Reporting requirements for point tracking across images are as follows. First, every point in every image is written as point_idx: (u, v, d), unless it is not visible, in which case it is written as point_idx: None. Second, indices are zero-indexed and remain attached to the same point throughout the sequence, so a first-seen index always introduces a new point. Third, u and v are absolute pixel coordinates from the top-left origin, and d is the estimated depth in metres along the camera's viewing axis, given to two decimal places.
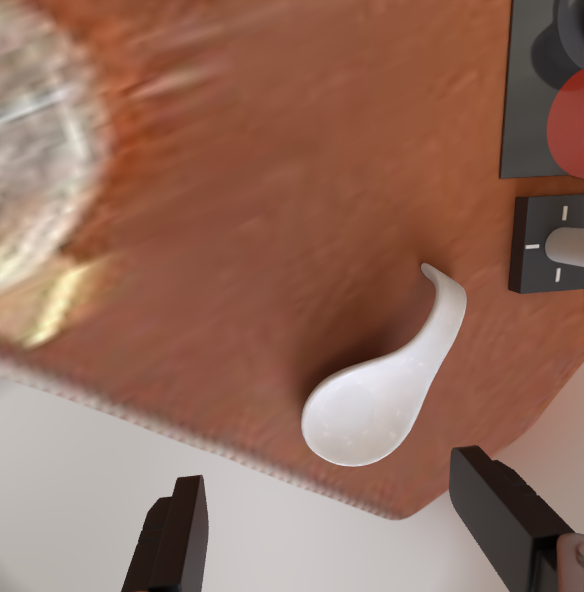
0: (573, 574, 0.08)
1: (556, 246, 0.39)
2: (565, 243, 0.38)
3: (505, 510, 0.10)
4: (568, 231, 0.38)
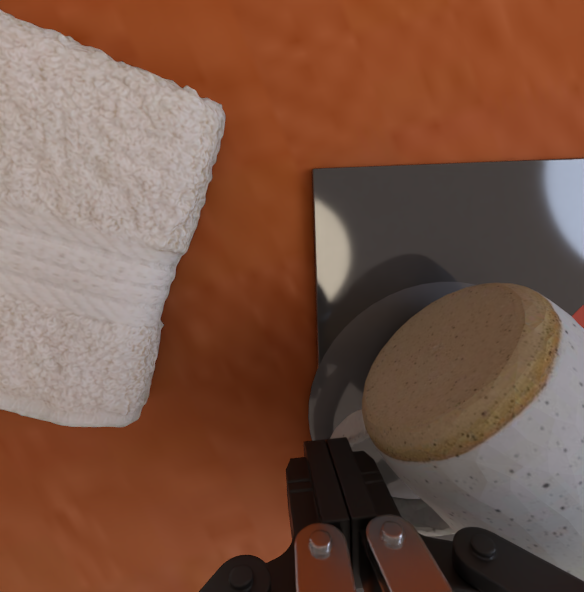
0: (390, 562, 0.08)
1: None
2: None
3: (342, 495, 0.11)
4: None
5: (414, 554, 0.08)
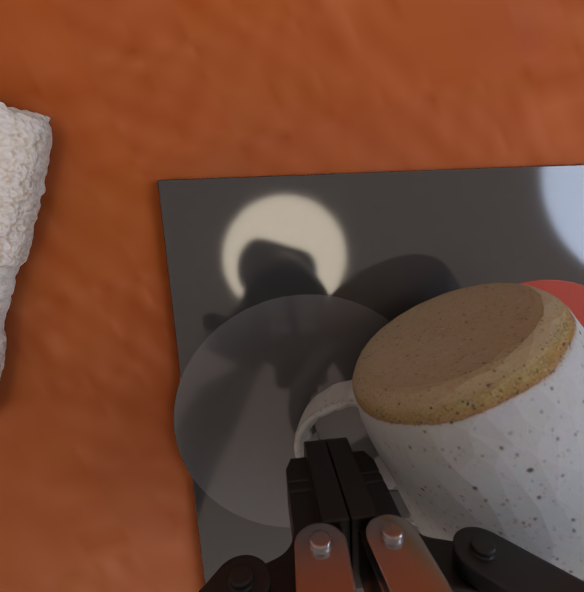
0: (390, 562, 0.08)
1: None
2: None
3: (342, 495, 0.11)
4: None
5: (414, 554, 0.08)
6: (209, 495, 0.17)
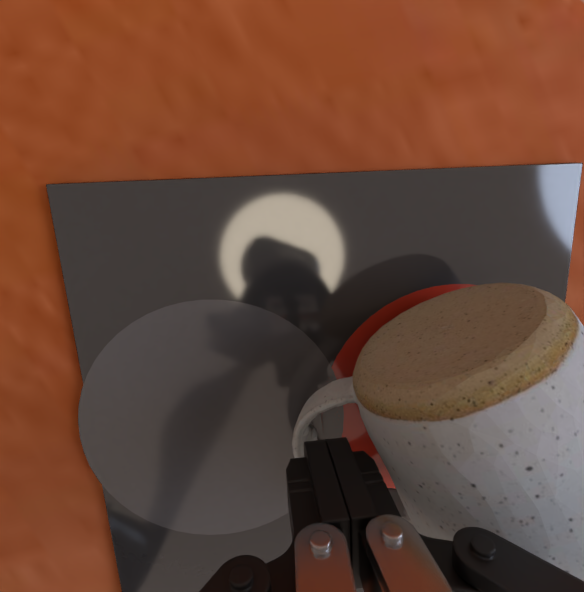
0: (390, 562, 0.08)
1: None
2: None
3: (342, 495, 0.11)
4: None
5: (414, 554, 0.08)
6: (120, 502, 0.17)
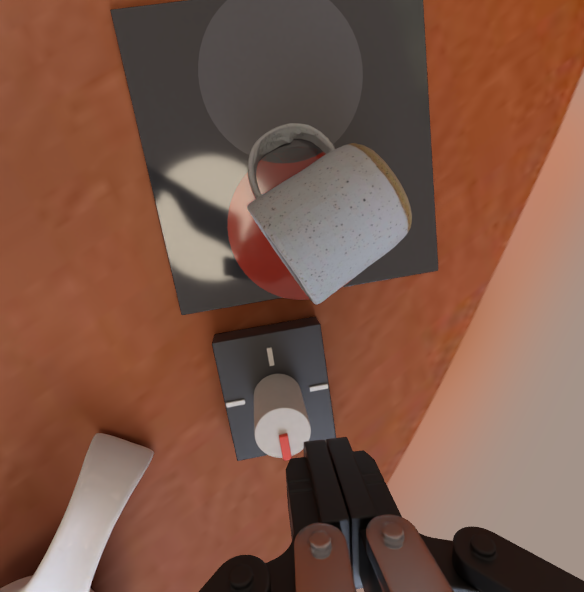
0: (390, 562, 0.08)
1: None
2: (254, 412, 0.27)
3: (342, 495, 0.11)
4: (262, 392, 0.27)
5: (414, 554, 0.08)
6: (220, 8, 0.25)
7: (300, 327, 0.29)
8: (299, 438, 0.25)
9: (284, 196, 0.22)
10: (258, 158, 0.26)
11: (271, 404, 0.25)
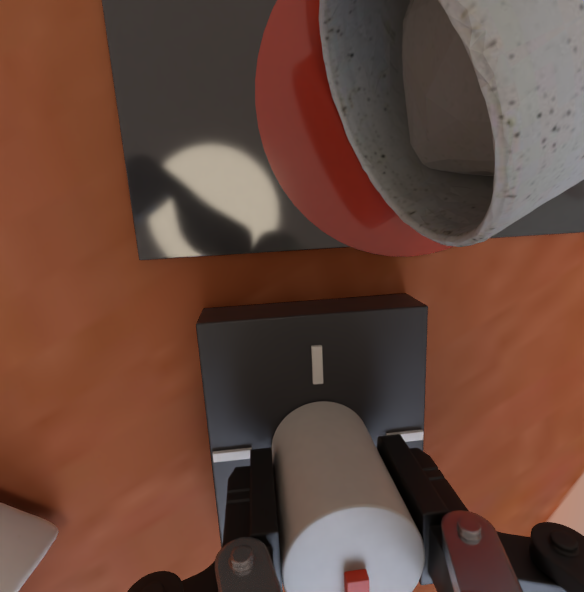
0: (461, 553, 0.08)
1: (274, 477, 0.13)
2: (276, 491, 0.12)
3: (407, 491, 0.11)
4: (298, 443, 0.12)
5: (489, 552, 0.08)
6: None
7: (387, 308, 0.13)
8: (393, 582, 0.10)
9: None
10: None
11: (330, 489, 0.10)
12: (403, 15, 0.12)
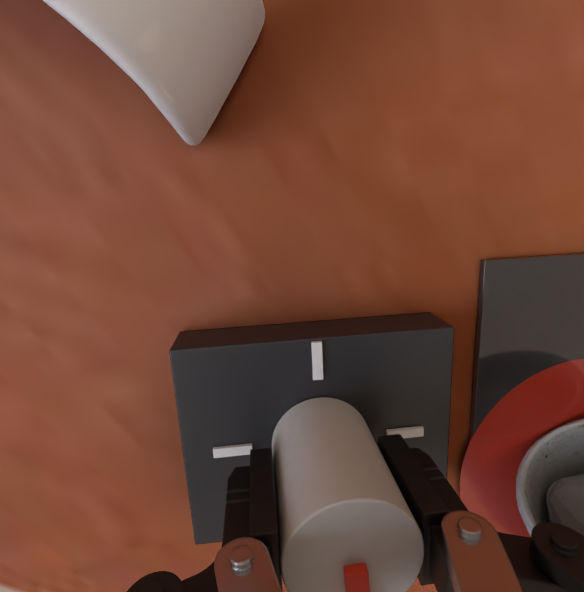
0: (461, 553, 0.08)
1: None
2: (276, 490, 0.12)
3: (408, 491, 0.11)
4: (295, 441, 0.12)
5: (489, 553, 0.08)
6: None
7: None
8: (394, 574, 0.10)
9: None
10: None
11: (325, 485, 0.10)
12: None
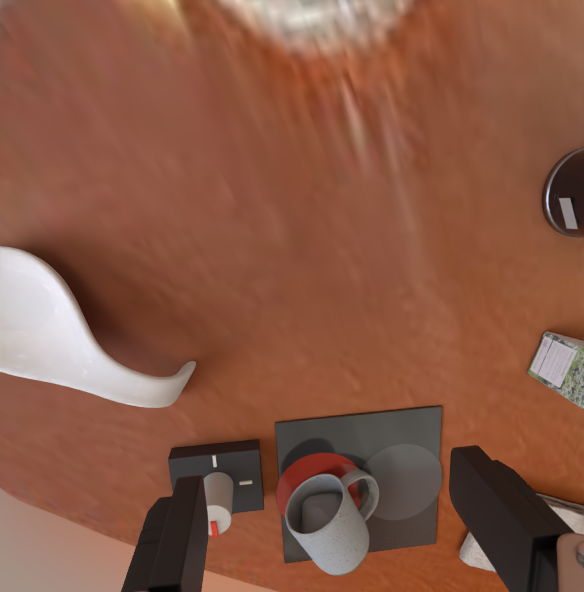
0: (573, 574, 0.08)
1: None
2: None
3: (505, 510, 0.10)
4: None
5: None
6: (434, 456, 0.48)
7: (263, 498, 0.45)
8: (223, 523, 0.39)
9: (351, 517, 0.42)
10: None
11: (207, 501, 0.39)
12: (339, 491, 0.46)
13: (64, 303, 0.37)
